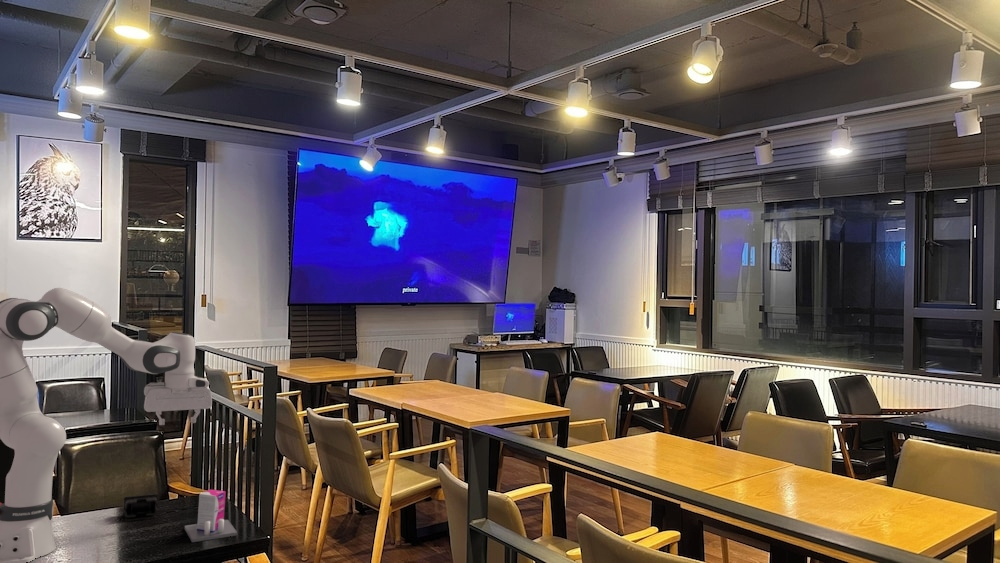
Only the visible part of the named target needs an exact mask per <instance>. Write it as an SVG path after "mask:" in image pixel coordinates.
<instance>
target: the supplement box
mask: <svg viewBox="0 0 1000 563" xmlns="http://www.w3.org/2000/svg"><path fill="white" fill-rule="evenodd" d="M226 493H227V492H226V491H224V490H216V489H208V490H205V491H203V492H201V493H199V496H198V510H197V512H198V513H197V523H196V524H197V531H203V532H204V527H205V521H210V532H211V533H213V532H215V531H216V530H218V521H219V519H224V520H225V506H226Z"/></svg>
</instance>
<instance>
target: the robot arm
mask: <svg viewBox="0 0 1000 563" xmlns="http://www.w3.org/2000/svg"><path fill="white" fill-rule="evenodd" d="M54 327H56V328H59V329H60V330H61V331H63V332H66V333H67V334H69V335H71V336H72V337H76V338H78V339H80V340H82V341H86V342H89V343H95V344H97V345H98V344H99V346H101V347H102V348H105V349H107V350H109V351H110V352H112V353H113V354H114V355H117V356H118V358H120V360H122V362H123V363H124V365H125V366H126V367H127V368H128V369H129V370H131V371H134V372H143V373H146V374H151V375H158V374H162V373H163V374H164V381H162V382H149V383H148V384H145V386H144V388H143V395H144V396H145V397H144V403H143V409H144V411H146V412H147V413H151V412H152V413H155V415H156V416H157V418H158V420H159V421H158V422H159V423H158V425H159V426H165V424H166V423H165V422H166V419H165V418H162V417H161V415H162V412H169V411H170V412H172V411H173V412H174V411H175V412H176V411H187V410H188V411H189V410H190V411H191V410H194V412H195V413H194V414H193V416H191V417H190V423H191V424H195V423H197V418H198V416H199V415H200V413H201V410H207V409H210V408H211V407H212V406H213V397H212V395H213V394H212V391H211V389H210V388H209V385H210V382H209V380H208V379H206V378H204V377H200V376H197V375H195V374H196V373H195V368H194V367H195V366H194V364H195V361H196V342H195V337H193V335H191V334H189V333H183V332H178V331H171V332H169V333H168V334H167V335H166V336H165V337H163V338H161V339H159V340H157V341H153V342H150V341H146V340H142V339H133V338H130V337H129V336H127V335H125V334H124V333H122V332H121V331H119V330H117V329H115V327H113V326H112V317H111V314H110V313H109V312H108V311H107V310H105V309H104V308H103V306H100V305H99V304H97V303H96V302H94V301H92V300H91V299H89V298H87V297H86V296H83V295H81V294H79V293H77V292H74V291H71V290H68V289H66V288H64V287H56V288H55V287H54V288H52V289H50V290H48V291H46V292H45V293H44V294H43V295H42V297H41V298H40V299H38V300H36V301H35V300H29V299H25V298H18V297H9V298H5V299H3V300H1V301H0V440H1V442H2V443H3V444H4V445H5V446H7V447H9V448H10V449H12V450H14V455H13V456H14V458H13V461H12V463H11V464H12V465H11V467H10V469H9V471H8V473H7V474H6V477H5V489H4V490H5V491H4V494H5V495H4V503H2V502H0V563H26V562H28V563H30V561H31V562H33V561H34V560H36V559H38V558H41V557H43V556H46V555H49V554H51V553H52V552H53V551H55V550H56V548H57V545H56V542H55V539H54V538H55V537H54V533H53V524H52V523H53V522H52V520H53V517H54V504H55V503H54V500H53V498H52V497H53V496H52V494H53V475H54V469H55V465H56V461H57V458H58V456H59V452H60V451H61V450H62V449H63V447H64V445H65V444H66V440H67V433H66V430H65V428H64V427H63V426H62V424H60V422H59V421H58V420H57V419H54V418H53V417H50V416H47V415H44V414H43V413H42V411H41V409H40V404H39V400H38V399H39V398H38V392H39V389H38V386H37V383H36V381H35V378H34V376H33V374H32V371H31V369H30V367H29V364H28V361H27V360H26V358H25V356H24V351H23V344H24V342H29V341H30V342H31V341H35V340H38V339H41V338H43V337H44V336H45V335H46V334H48V333H49V331H51V330H52V329H54ZM40 556H41V557H40ZM35 558H36V559H35ZM32 560H33V561H32Z"/></svg>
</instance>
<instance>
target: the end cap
mask: <svg viewBox="0 0 1000 563" xmlns="http://www.w3.org/2000/svg"><path fill="white" fill-rule="evenodd" d="M158 499H159V494H158V493H154V494H153V493H151V494H140V495H132V496H124V497H123V510H122V512H123V513H122V514H123V515H122V516H123V517H124V522H133V521H141V520H142V521H143V520H151V519H156V518H157V513H158V505H159V504H158V503H159V500H158Z"/></svg>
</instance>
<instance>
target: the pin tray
mask: <svg viewBox="0 0 1000 563" xmlns="http://www.w3.org/2000/svg"><path fill="white" fill-rule="evenodd" d="M184 531H185V532H186V534H187V536H188V538H189V539H190V541H191V543H196V542H197V543H198V542H204V541H211V540H215V539H223V538H229V537H230V536H231V537H236V536H238V531H237V530H236V529H235V527H234V526H233V525H232V523H231V521H230V520H229V519H225V518H224V519H219V521H218V530H216V531H215V532H213V533H211V532H210V521H205V527H204V532H203V531H197V523H195V524H187V525H184Z"/></svg>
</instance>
